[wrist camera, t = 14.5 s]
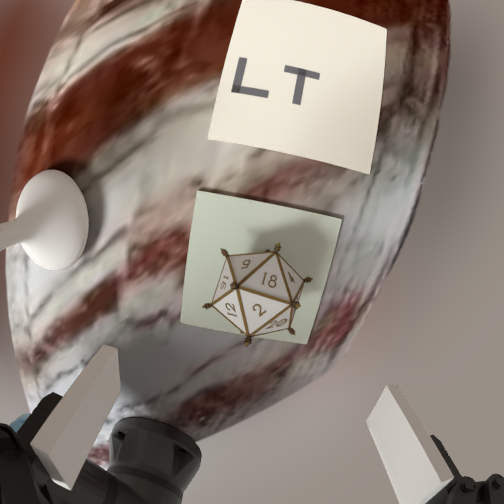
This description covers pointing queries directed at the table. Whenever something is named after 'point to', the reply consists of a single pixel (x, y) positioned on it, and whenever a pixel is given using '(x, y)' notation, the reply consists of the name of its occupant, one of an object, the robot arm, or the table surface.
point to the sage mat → (251, 241)
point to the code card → (302, 83)
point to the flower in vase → (49, 221)
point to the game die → (258, 292)
